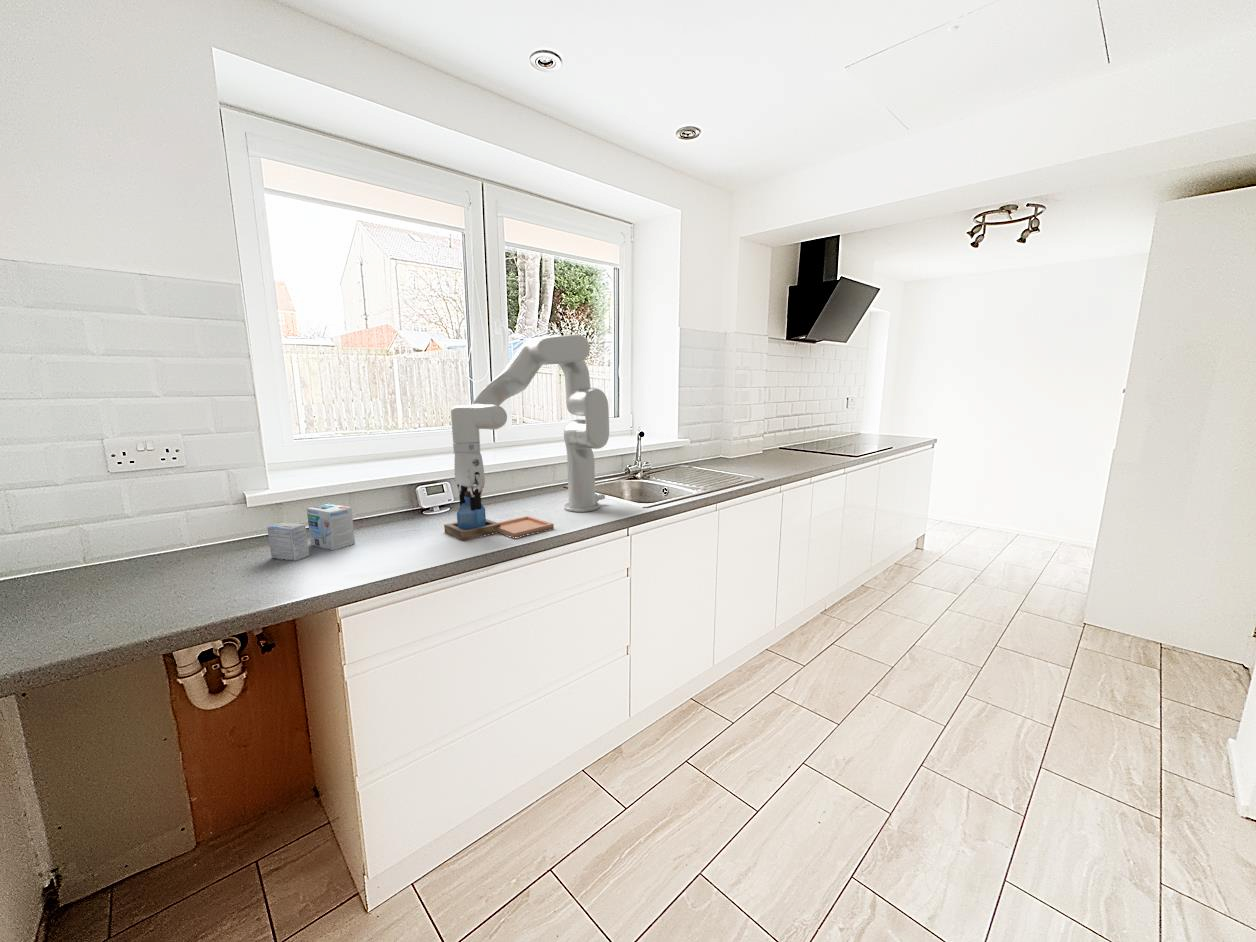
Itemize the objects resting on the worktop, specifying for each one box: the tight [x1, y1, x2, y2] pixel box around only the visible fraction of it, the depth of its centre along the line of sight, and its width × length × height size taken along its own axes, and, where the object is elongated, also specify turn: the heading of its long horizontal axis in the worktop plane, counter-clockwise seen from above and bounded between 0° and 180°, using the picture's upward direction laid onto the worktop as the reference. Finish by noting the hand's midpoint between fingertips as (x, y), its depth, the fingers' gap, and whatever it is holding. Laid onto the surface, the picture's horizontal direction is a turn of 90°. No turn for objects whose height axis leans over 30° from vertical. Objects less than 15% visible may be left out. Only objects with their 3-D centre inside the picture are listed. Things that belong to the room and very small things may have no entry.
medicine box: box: [267, 522, 310, 562], centre depth 130 cm, size 8×4×9 cm, turn 74°
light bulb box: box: [306, 503, 356, 551], centre depth 140 cm, size 11×7×11 cm, turn 62°
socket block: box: [443, 518, 501, 542], centre depth 151 cm, size 12×12×2 cm
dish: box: [497, 515, 555, 538], centre depth 154 cm, size 14×14×2 cm
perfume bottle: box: [456, 490, 487, 530], centre depth 150 cm, size 6×6×12 cm
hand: (470, 507), depth 150 cm, fingers open, 5 cm apart
